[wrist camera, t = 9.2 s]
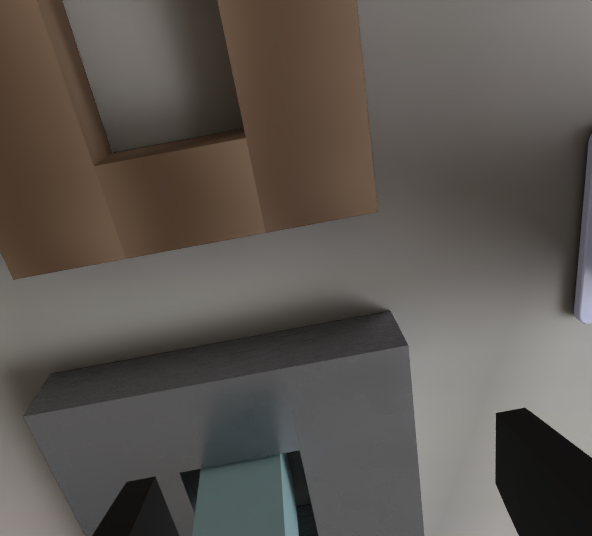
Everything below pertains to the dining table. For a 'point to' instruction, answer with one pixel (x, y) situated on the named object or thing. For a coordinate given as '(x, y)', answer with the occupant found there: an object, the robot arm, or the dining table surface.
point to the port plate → (246, 424)
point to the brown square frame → (181, 141)
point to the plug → (247, 499)
